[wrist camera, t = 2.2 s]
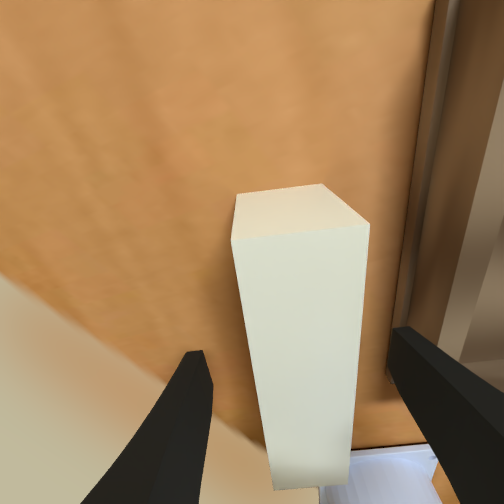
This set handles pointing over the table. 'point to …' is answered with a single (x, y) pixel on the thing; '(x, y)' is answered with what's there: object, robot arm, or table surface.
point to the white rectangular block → (302, 325)
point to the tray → (459, 194)
